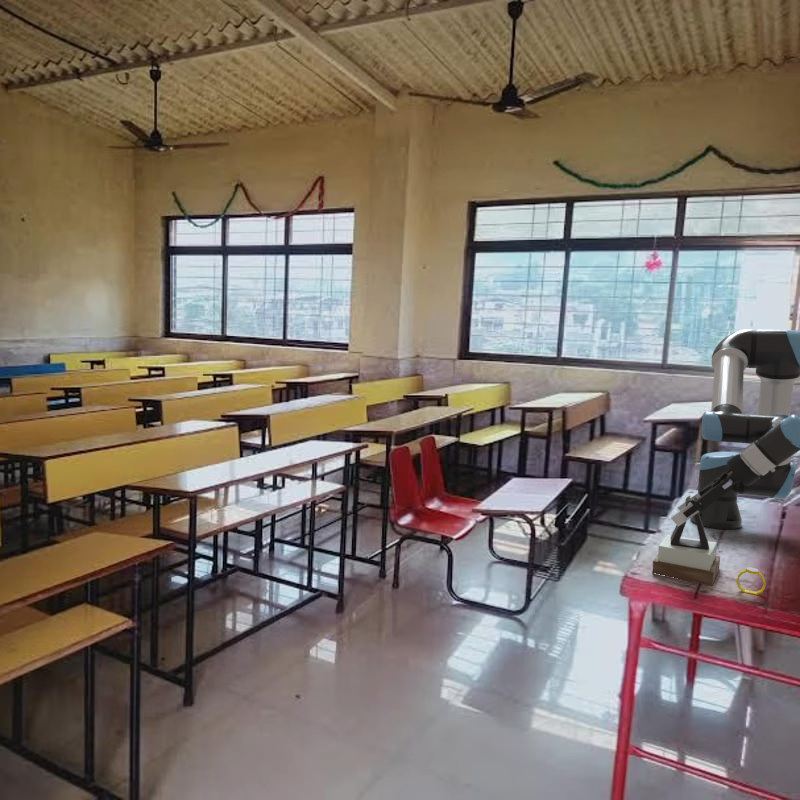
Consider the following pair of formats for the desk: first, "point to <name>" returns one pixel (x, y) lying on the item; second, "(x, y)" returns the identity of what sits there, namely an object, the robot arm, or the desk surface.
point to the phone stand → (685, 542)
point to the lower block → (687, 571)
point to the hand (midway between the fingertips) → (677, 516)
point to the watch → (752, 571)
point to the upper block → (687, 554)
